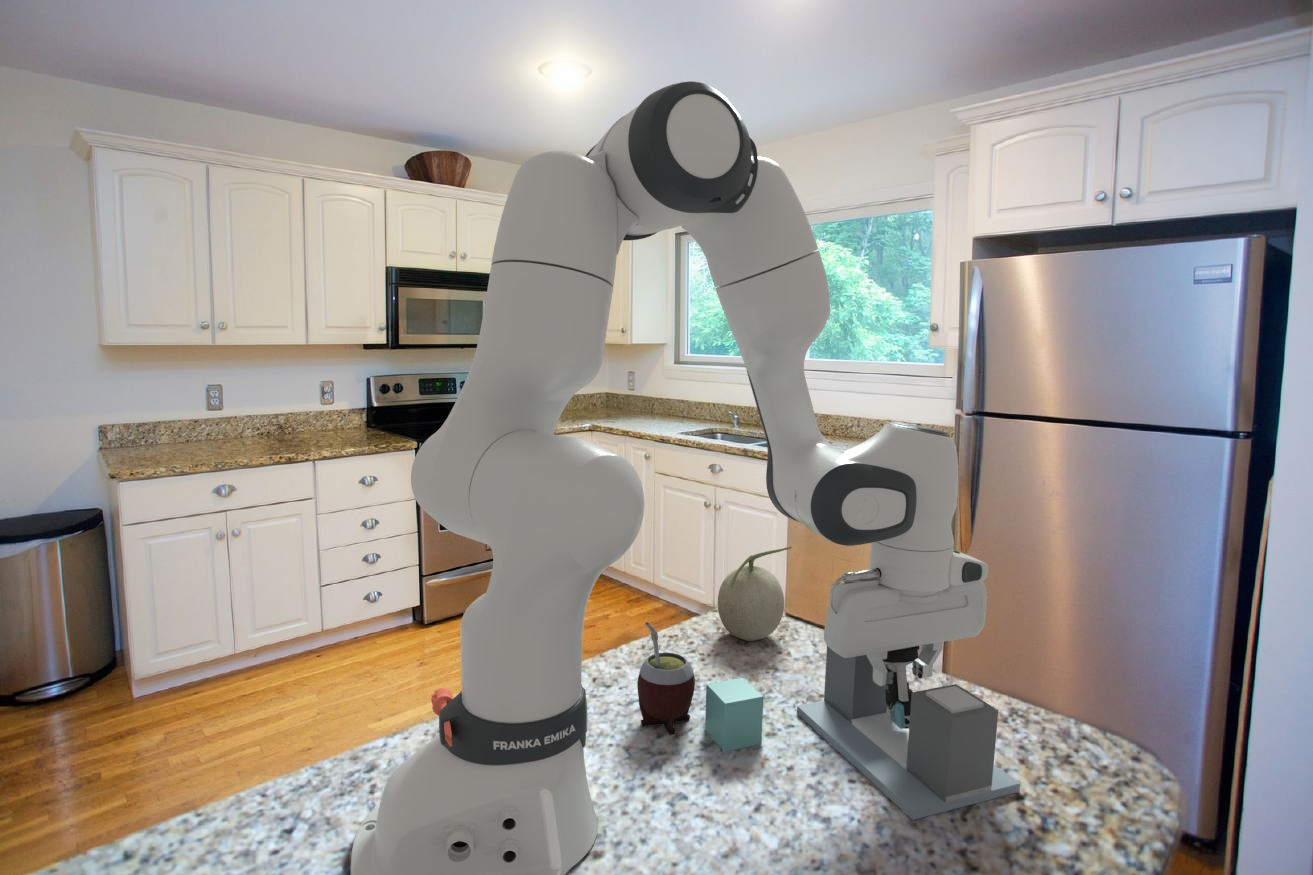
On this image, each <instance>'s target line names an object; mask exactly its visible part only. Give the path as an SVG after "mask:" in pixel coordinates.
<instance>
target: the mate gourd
mask: <svg viewBox="0 0 1313 875" xmlns="http://www.w3.org/2000/svg"><path fill="white" fill-rule="evenodd" d="M644 624H645V625H646V626H647V628H648V629H649V631H650V637H651V641H652V642H653V643H652V644H653V651H654V654H651V655H649V656H648V657H647V658H646V659H645V660H644V661H643V663H642V664H641V666H640V669H639V674H638V677H637V682H636V683H637V695H638V706H639V711H640V713H641V717H642V719H640V725H641V727H650V726H657V725H661V726H662V725H663V726H664V728H665V730H666V733H667V734H668V736H675V735H676V729H675V727H674V725H675V723H680V722H681V723H682V722H688V721H690V718H691V715H690V714H689V711H690V708H691V705H692V701H693V697H694V693H695V686H696V679H695V674H694V668H693V666H692V665H691V664H690V662H689V661H688V659H687V658H686V657H685V656H683V655H681V654H678V653H674V652H666V651H665V652H664V651H663V652H659V651H660V649H659V645H658V644H659V643H658V640H659V635H658V634H659V633H658V631H656V629H655V626H653V625H652V624H651V623H650V622H647V621H646V622H645V623H644Z"/></svg>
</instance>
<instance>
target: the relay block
mask: <svg viewBox="0 0 1313 875" xmlns="http://www.w3.org/2000/svg"><path fill="white" fill-rule="evenodd" d="M705 686H706V688H705V690H706V692H705V693H706V694H705V719H704V720H705V721H704V722H705V723H704V731H705V732H706V733H707V734H708V735H709V736H710V738H711V739H712V740H713V741H714V742H715V743H716V745H717V746H718V747H719V748H720V749H721V751H722V752H728V751H729V752H730V751H734V750H738V749H744V748H747V747H753V746H757V745H761V744H762V741H763V740H762V739H763V737H762V736H763V716H764V714H763V712H764V695H762V694H761V693H760V692H759V691H758V690H757V689H756V688H755V687H754V686H753V685H752V684H751V683H750V682H749V681H747V680H746V678H743V677H739V678H734V679H728V680H722V681H717V682H716V681H715V682H710V683H706V685H705Z"/></svg>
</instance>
